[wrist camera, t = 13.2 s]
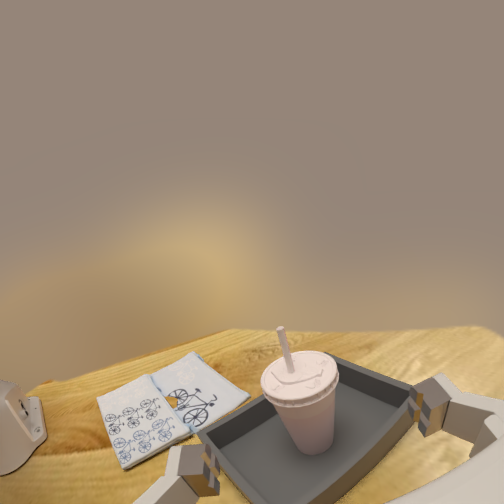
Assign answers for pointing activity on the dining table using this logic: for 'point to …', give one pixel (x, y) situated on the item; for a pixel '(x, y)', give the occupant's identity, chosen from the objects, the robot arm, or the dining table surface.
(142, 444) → the folded bicycle print cloth
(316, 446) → the smoothie
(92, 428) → the dining table surface
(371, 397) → the tray
